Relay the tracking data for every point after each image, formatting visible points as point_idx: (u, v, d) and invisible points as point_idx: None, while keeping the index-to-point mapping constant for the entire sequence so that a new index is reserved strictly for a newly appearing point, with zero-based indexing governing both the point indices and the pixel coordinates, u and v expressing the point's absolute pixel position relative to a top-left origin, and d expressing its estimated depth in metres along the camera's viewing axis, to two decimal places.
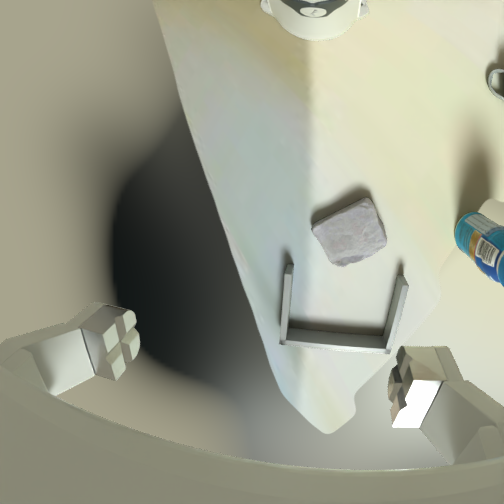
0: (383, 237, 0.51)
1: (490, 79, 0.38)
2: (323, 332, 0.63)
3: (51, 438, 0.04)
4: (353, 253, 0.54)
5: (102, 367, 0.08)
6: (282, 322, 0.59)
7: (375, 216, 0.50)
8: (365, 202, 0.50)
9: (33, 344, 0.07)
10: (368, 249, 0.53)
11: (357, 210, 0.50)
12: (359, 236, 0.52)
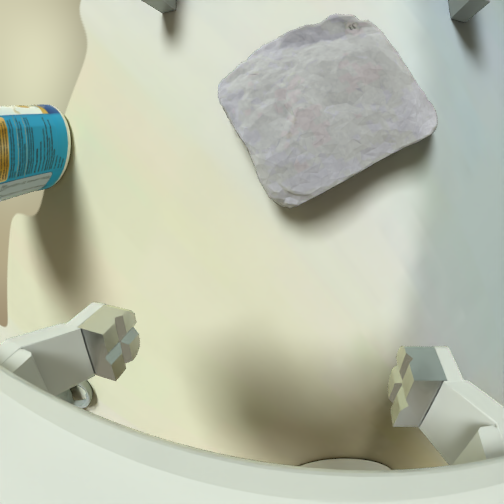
0: (227, 106, 0.17)
1: (87, 394, 0.33)
2: None
3: (51, 438, 0.04)
4: (311, 51, 0.16)
5: (102, 367, 0.08)
6: None
7: (259, 168, 0.17)
8: (293, 204, 0.18)
9: (33, 344, 0.07)
10: (269, 66, 0.16)
11: (317, 184, 0.17)
12: (303, 101, 0.16)
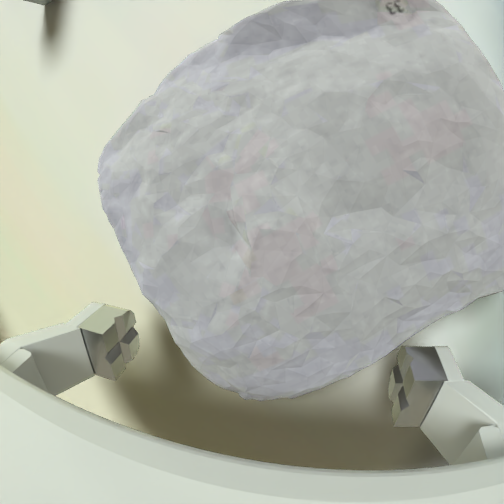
0: (112, 212, 0.08)
1: None
2: None
3: (51, 438, 0.04)
4: (296, 66, 0.06)
5: (102, 367, 0.08)
6: None
7: (183, 349, 0.08)
8: None
9: (33, 344, 0.07)
10: (196, 108, 0.07)
11: (299, 385, 0.08)
12: (273, 207, 0.07)
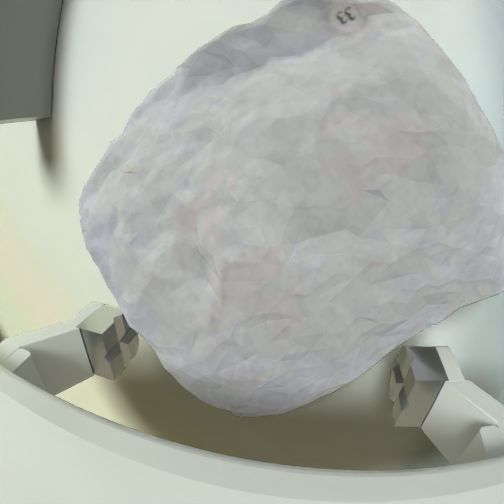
0: (95, 252, 0.08)
1: None
2: None
3: (51, 438, 0.04)
4: (249, 94, 0.07)
5: (101, 367, 0.08)
6: None
7: (172, 374, 0.09)
8: None
9: (32, 344, 0.07)
10: (159, 147, 0.08)
11: (284, 403, 0.08)
12: (236, 241, 0.07)
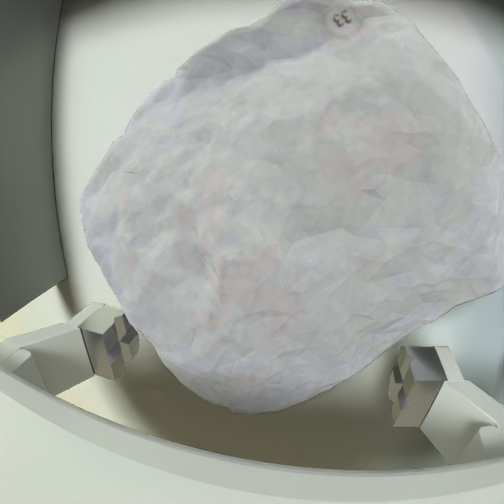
0: (96, 250, 0.09)
1: None
2: None
3: (51, 438, 0.04)
4: (247, 96, 0.07)
5: (101, 367, 0.08)
6: None
7: (172, 370, 0.09)
8: None
9: (33, 344, 0.07)
10: (160, 148, 0.08)
11: (281, 399, 0.08)
12: (234, 239, 0.07)
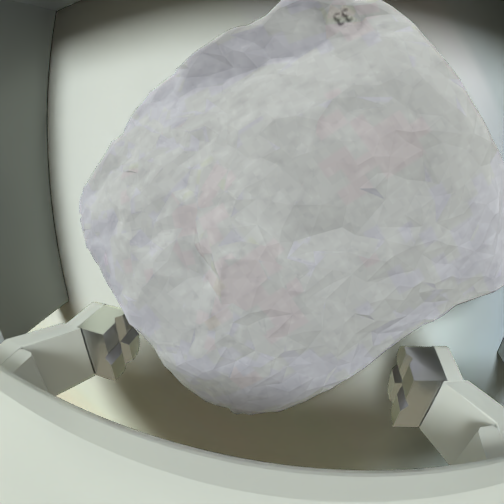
0: (95, 250, 0.09)
1: None
2: None
3: (51, 438, 0.04)
4: (248, 95, 0.07)
5: (102, 367, 0.08)
6: None
7: (172, 371, 0.09)
8: None
9: (33, 344, 0.07)
10: (159, 147, 0.08)
11: (282, 399, 0.08)
12: (235, 238, 0.07)
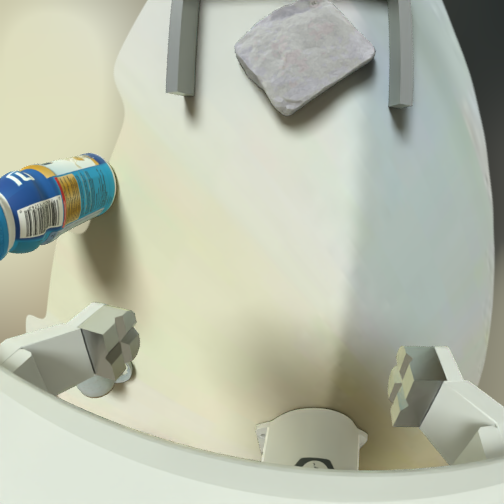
0: (243, 56, 0.25)
1: (129, 370, 0.46)
2: None
3: (51, 438, 0.04)
4: (290, 20, 0.24)
5: (102, 367, 0.08)
6: (408, 7, 0.19)
7: (267, 89, 0.26)
8: (291, 109, 0.27)
9: (33, 344, 0.07)
10: (265, 31, 0.25)
11: (304, 93, 0.25)
12: (289, 48, 0.24)
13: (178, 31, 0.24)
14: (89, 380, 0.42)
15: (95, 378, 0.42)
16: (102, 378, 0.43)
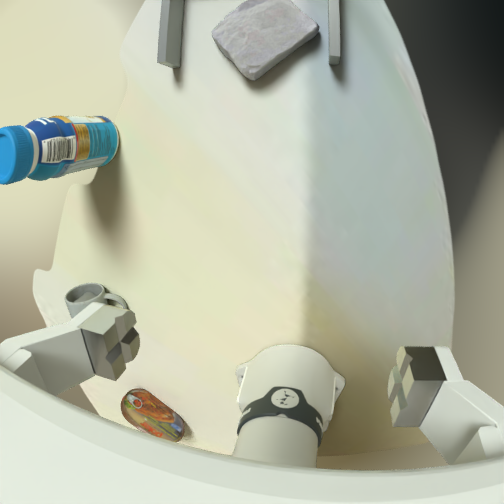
0: (217, 38, 0.33)
1: None
2: None
3: (51, 438, 0.04)
4: (252, 10, 0.31)
5: (102, 367, 0.08)
6: None
7: (235, 59, 0.33)
8: (253, 73, 0.34)
9: (33, 344, 0.07)
10: (234, 19, 0.32)
11: (262, 60, 0.33)
12: (250, 29, 0.32)
13: (166, 19, 0.32)
14: None
15: None
16: None
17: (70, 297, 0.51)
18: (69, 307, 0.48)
